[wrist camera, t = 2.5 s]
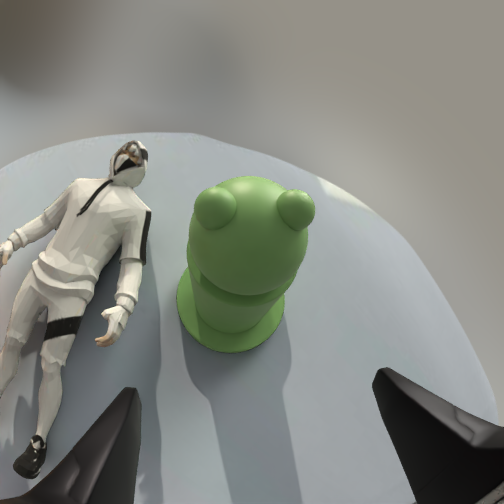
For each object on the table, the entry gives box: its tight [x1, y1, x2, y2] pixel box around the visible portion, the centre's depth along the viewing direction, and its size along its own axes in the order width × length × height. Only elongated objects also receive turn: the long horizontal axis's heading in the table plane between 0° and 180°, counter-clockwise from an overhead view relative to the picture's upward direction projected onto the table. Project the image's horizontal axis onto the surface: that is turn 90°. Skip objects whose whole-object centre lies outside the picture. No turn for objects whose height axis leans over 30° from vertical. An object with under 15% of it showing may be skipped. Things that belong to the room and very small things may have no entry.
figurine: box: [0, 141, 151, 479], centre depth 19 cm, size 13×6×30 cm
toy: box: [176, 176, 315, 353], centre depth 17 cm, size 8×8×15 cm
